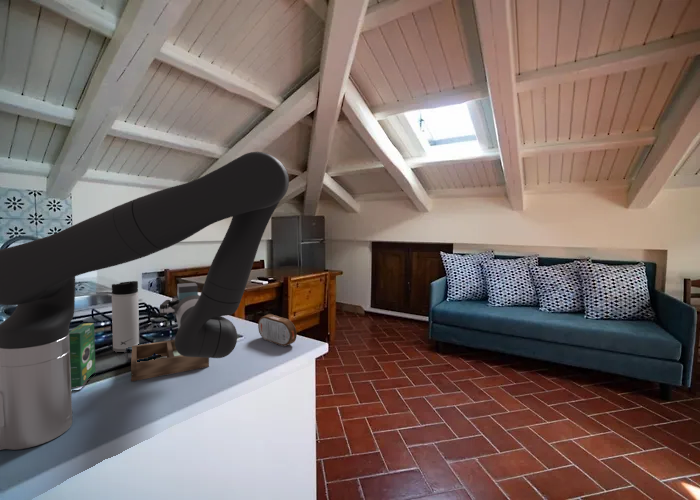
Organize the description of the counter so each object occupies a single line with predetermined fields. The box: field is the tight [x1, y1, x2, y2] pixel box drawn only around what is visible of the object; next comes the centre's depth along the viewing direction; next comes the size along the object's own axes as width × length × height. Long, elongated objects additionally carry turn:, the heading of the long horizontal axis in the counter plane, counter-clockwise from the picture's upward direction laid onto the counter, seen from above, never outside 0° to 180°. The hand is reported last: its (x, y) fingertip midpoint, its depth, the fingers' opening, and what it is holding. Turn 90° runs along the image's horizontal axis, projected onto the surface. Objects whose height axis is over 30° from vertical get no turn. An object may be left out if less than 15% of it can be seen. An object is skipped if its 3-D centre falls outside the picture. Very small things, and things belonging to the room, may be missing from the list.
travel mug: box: [111, 280, 140, 353], centre depth 93 cm, size 6×7×20 cm
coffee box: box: [69, 322, 96, 387], centre depth 74 cm, size 8×3×13 cm, turn 19°
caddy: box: [130, 339, 210, 382], centre depth 86 cm, size 17×13×4 cm
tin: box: [257, 313, 298, 347], centre depth 104 cm, size 15×3×8 cm, turn 58°
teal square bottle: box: [176, 282, 199, 330], centre depth 87 cm, size 4×4×12 cm
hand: (186, 298), depth 89 cm, fingers closed on teal square bottle, 4 cm apart
